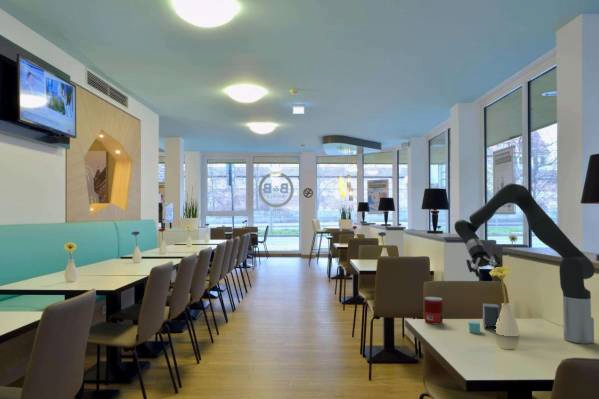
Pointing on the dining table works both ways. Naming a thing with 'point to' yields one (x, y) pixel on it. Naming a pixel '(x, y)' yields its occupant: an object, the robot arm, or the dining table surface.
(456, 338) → the dining table surface
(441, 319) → the canned food
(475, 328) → the teal block
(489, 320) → the tall grey pillar block
